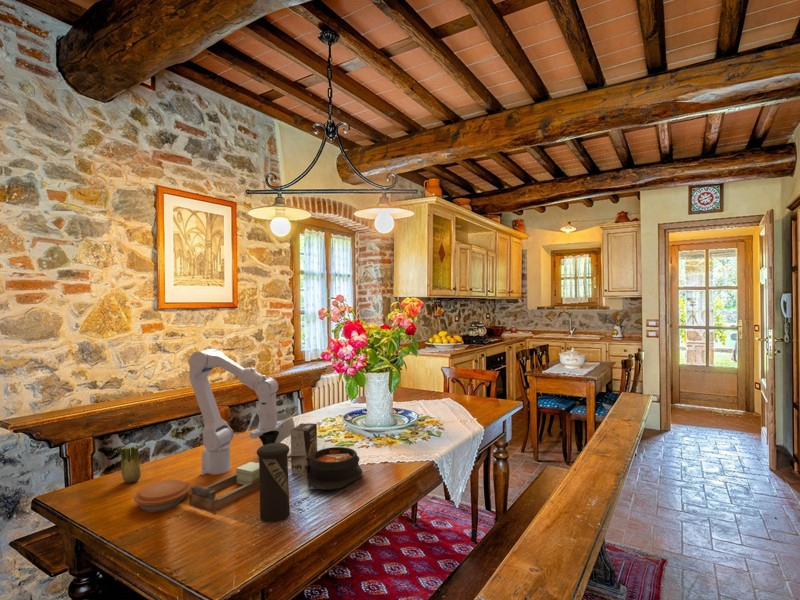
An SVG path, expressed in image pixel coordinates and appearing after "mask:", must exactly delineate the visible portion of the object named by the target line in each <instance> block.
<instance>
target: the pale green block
mask: <svg viewBox="0 0 800 600" xmlns="http://www.w3.org/2000/svg"><path fill="white" fill-rule="evenodd" d="M235 472H236V473H237V478H236V481H237V482H236V484H238V485H242V486H244V485H246V484H248V483H250V482H252V481H254V480H256V479H258V478H260V477H259V462H258V463H257V462H253V461H249V462H247V463H244V464H242V465H240V466H238V467H236V470H235Z"/></svg>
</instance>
